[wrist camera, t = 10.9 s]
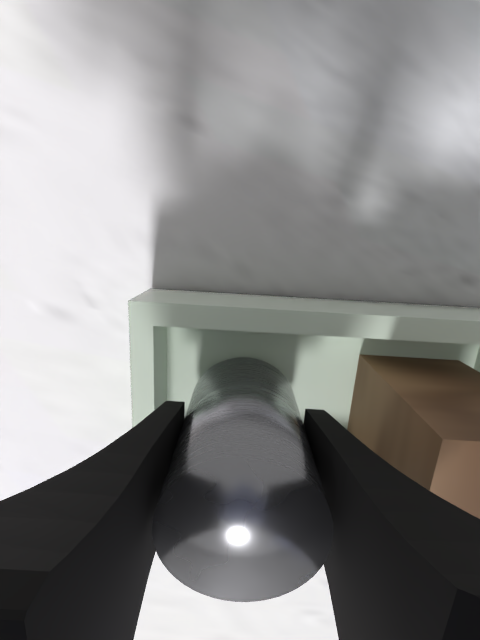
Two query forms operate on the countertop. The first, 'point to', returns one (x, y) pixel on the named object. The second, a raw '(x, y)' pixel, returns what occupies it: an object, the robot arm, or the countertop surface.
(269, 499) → the steel cylinder
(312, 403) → the tray
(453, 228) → the countertop surface
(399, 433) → the walnut block
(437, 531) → the robot arm
